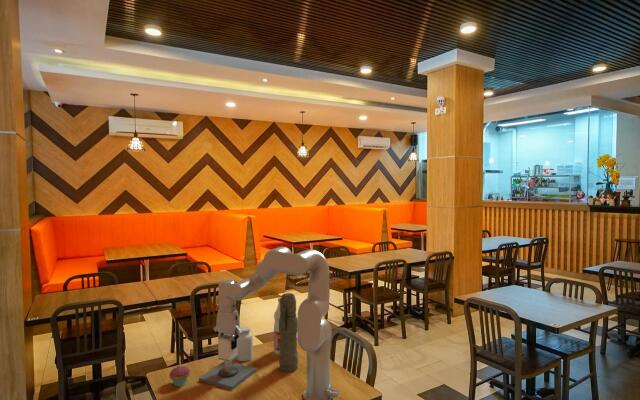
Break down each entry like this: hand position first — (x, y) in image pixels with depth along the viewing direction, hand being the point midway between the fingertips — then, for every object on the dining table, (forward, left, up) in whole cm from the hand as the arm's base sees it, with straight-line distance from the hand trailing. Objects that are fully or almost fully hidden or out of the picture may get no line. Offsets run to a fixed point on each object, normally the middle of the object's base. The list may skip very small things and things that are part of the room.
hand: (227, 346), depth 176 cm
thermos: (-21, -18, -14) cm, 31 cm away
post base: (0, 0, -13) cm, 13 cm away
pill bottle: (+4, -18, -14) cm, 23 cm away
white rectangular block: (0, 0, -5) cm, 5 cm away
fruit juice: (-10, -32, -14) cm, 36 cm away
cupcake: (+15, +14, -14) cm, 25 cm away
